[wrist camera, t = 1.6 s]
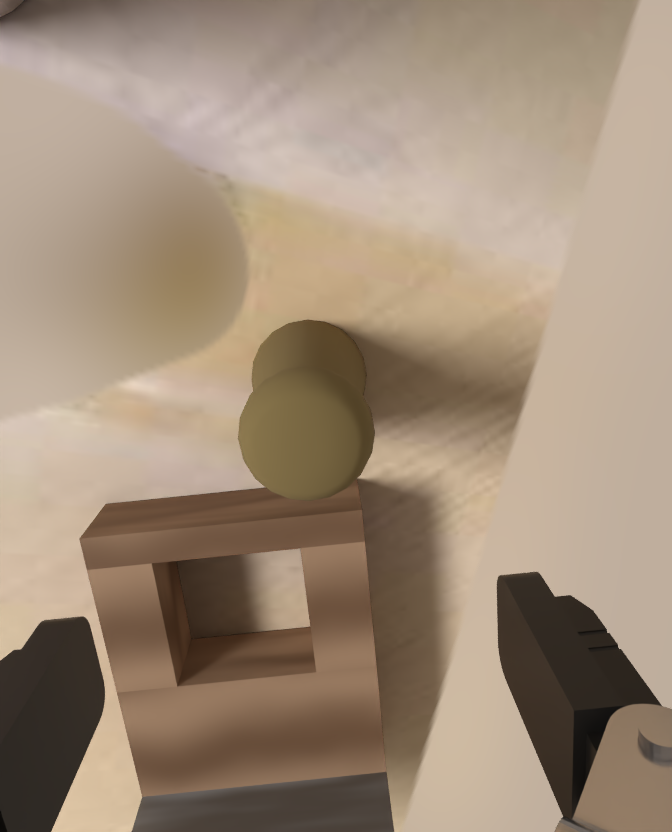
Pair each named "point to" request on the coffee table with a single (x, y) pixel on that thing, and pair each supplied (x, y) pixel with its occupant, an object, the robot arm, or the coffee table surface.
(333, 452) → the cork
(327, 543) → the socket stand
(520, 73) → the coffee table surface
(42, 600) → the coffee table surface
